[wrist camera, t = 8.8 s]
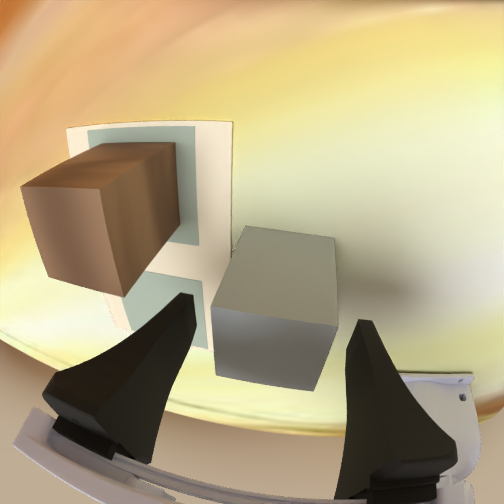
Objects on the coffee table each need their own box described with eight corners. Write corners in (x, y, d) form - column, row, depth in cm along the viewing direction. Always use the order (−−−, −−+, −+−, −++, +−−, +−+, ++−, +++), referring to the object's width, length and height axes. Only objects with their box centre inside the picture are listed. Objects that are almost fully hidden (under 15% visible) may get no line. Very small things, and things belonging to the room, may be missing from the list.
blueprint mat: (232, 121, 12) (231, 122, 12) (231, 354, 21) (230, 355, 21) (67, 128, 14) (65, 128, 14) (115, 325, 23) (114, 327, 23)
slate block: (334, 237, 15) (338, 326, 10) (318, 303, 17) (313, 391, 12) (245, 225, 15) (210, 305, 10) (243, 292, 18) (215, 375, 13)
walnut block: (175, 142, 13) (99, 189, 8) (180, 224, 16) (124, 297, 11) (102, 143, 14) (20, 186, 9) (112, 216, 16) (48, 276, 12)
